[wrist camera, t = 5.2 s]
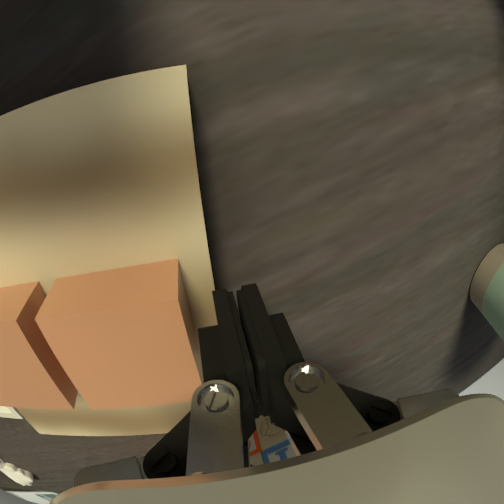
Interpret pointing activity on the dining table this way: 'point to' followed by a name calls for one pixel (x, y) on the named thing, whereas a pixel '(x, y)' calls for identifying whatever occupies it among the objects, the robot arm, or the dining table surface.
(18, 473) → the acanthus leaf ornament
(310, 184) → the dining table surface
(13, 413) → the tray
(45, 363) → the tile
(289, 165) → the dining table surface
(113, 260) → the board
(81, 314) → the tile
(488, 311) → the coffee cup
